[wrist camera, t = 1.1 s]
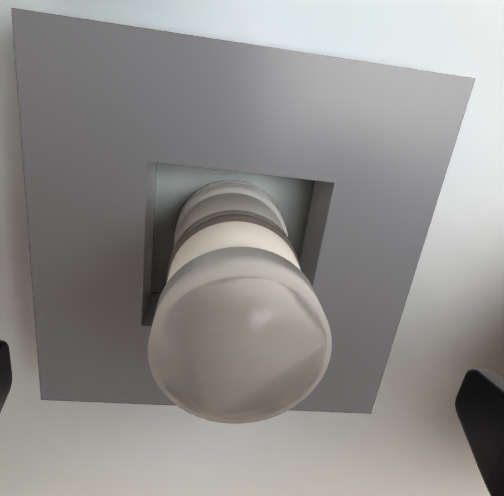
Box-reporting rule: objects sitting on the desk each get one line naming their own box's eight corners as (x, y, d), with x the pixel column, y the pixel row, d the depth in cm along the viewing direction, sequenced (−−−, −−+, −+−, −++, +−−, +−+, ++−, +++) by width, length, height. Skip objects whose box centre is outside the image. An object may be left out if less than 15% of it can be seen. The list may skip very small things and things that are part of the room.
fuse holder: (436, 76, 14) (475, 78, 12) (353, 375, 18) (370, 413, 16) (45, 17, 12) (11, 7, 10) (62, 359, 17) (41, 399, 15)
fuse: (291, 186, 15) (349, 279, 8) (274, 283, 16) (312, 426, 10) (180, 174, 14) (151, 263, 8) (173, 275, 16) (144, 419, 9)
